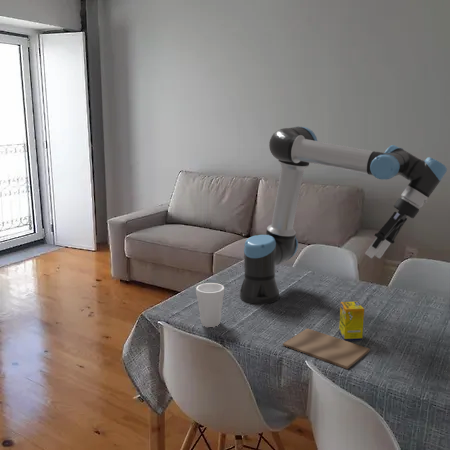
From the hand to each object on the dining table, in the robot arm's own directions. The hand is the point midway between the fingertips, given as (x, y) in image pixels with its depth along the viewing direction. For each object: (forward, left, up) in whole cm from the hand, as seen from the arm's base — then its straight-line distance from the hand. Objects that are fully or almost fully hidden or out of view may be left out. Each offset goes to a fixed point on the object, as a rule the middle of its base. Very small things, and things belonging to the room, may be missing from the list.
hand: (372, 256), depth 170 cm
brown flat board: (-1, -28, -23) cm, 36 cm away
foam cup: (-40, -37, -23) cm, 59 cm away
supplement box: (+1, -16, -23) cm, 28 cm away
